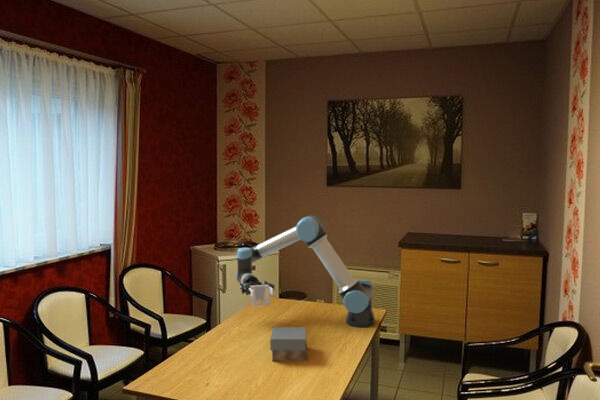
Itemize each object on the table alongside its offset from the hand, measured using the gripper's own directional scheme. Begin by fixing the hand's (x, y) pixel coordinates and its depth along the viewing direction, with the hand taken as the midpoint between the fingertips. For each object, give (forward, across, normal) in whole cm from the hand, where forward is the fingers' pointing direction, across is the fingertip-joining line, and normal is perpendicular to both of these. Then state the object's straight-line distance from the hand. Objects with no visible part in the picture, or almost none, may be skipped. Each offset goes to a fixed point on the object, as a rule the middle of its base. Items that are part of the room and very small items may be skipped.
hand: (263, 293), depth 227 cm
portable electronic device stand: (-5, 0, -6) cm, 8 cm away
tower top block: (+17, -6, -19) cm, 26 cm away
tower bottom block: (+17, -7, -24) cm, 30 cm away
